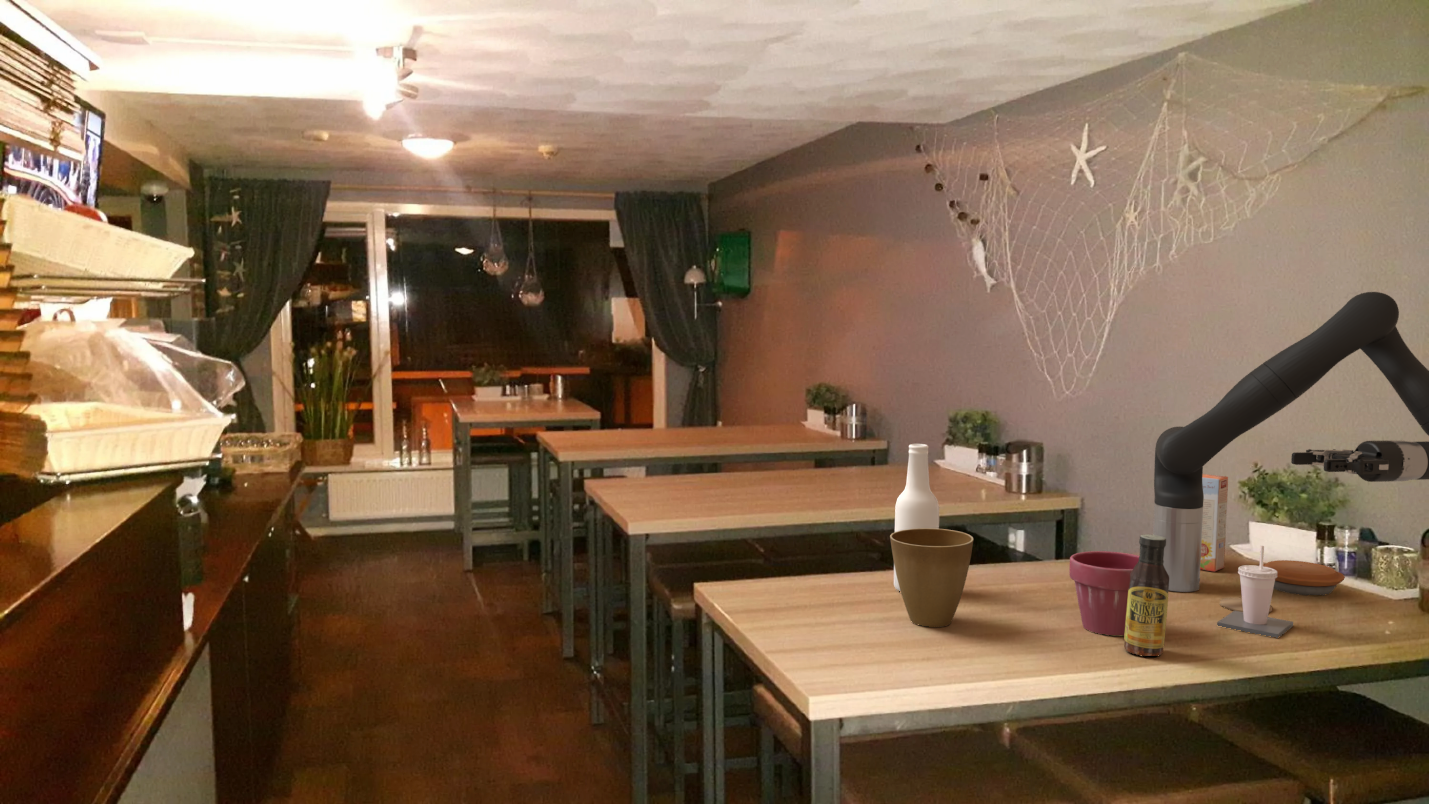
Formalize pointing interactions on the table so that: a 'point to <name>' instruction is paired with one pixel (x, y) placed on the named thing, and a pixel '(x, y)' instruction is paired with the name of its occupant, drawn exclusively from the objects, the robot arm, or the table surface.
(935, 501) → the alcohol
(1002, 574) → the table surface
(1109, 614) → the plant pot
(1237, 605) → the cork trivet
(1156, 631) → the sauce bottle
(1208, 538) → the cracker box
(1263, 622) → the smoothie
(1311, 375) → the robot arm
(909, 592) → the plant pot
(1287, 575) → the pie
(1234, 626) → the slate coaster
